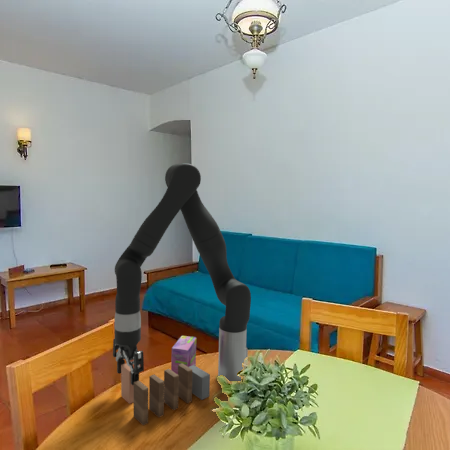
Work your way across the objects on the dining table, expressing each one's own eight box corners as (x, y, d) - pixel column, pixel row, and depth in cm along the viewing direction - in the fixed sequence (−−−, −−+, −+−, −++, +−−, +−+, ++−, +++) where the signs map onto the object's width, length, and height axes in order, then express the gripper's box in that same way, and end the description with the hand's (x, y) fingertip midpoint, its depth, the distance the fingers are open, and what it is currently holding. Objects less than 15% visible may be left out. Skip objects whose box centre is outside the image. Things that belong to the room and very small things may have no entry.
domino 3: (168, 400, 107) (168, 368, 106) (178, 408, 103) (178, 375, 102) (163, 402, 106) (164, 370, 105) (173, 410, 102) (174, 377, 101)
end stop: (193, 385, 115) (193, 364, 115) (209, 396, 110) (209, 374, 109) (185, 388, 113) (186, 367, 113) (201, 399, 108) (202, 377, 107)
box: (187, 384, 116) (187, 349, 115) (170, 382, 117) (171, 347, 116) (196, 369, 126) (196, 337, 125) (180, 367, 127) (181, 335, 126)
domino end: (126, 394, 109) (126, 363, 108) (134, 401, 106) (134, 369, 105) (121, 396, 108) (121, 365, 107) (129, 403, 105) (129, 371, 104)
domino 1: (138, 414, 100) (138, 380, 99) (148, 422, 96) (148, 387, 95) (133, 416, 99) (133, 382, 98) (142, 425, 95) (143, 390, 94)
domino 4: (181, 394, 110) (182, 363, 109) (191, 401, 107) (192, 369, 106) (177, 396, 109) (178, 364, 108) (187, 403, 106) (188, 371, 105)
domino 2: (153, 406, 104) (154, 374, 103) (163, 415, 100) (164, 381, 99) (149, 409, 102) (149, 376, 101) (158, 417, 99) (159, 383, 98)
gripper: (151, 329, 102) (151, 383, 104) (127, 316, 112) (127, 365, 114) (128, 336, 97) (128, 393, 99) (104, 321, 107) (105, 372, 109)
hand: (127, 378), depth 106 cm, fingers open, 8 cm apart
